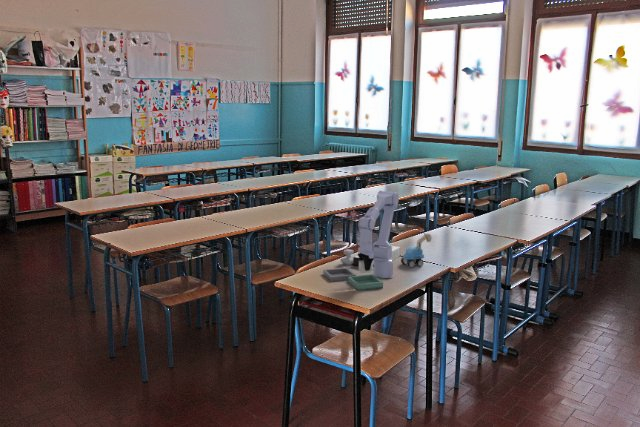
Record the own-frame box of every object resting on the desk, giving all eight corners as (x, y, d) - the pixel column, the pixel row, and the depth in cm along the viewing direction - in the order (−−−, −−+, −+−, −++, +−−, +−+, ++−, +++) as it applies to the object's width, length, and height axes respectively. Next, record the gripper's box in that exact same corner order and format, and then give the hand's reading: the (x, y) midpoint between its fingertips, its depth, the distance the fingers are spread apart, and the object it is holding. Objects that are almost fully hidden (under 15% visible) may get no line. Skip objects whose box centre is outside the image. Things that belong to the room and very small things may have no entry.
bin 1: (346, 273, 292) (346, 267, 292) (355, 280, 280) (356, 274, 279) (323, 275, 288) (323, 269, 288) (331, 283, 276) (331, 277, 275)
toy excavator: (433, 265, 307) (435, 234, 304) (407, 268, 301) (408, 237, 298) (425, 261, 315) (426, 231, 312) (399, 264, 309) (400, 234, 306)
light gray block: (368, 269, 274) (368, 259, 273) (371, 272, 270) (371, 262, 269) (358, 270, 272) (358, 260, 271) (361, 273, 268) (361, 263, 267)
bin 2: (372, 280, 281) (372, 274, 280) (382, 288, 268) (383, 282, 268) (348, 282, 277) (348, 276, 276) (357, 290, 264) (357, 284, 264)
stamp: (358, 265, 307) (358, 250, 306) (351, 267, 302) (351, 252, 301) (345, 262, 313) (345, 247, 311) (338, 264, 308) (338, 249, 306)
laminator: (383, 254, 331) (383, 244, 329) (401, 257, 324) (402, 247, 323) (353, 268, 303) (353, 256, 302) (373, 271, 296) (373, 260, 295)
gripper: (352, 239, 274) (352, 265, 276) (364, 246, 260) (363, 274, 263) (366, 238, 276) (365, 264, 279) (378, 244, 262) (377, 272, 265)
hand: (365, 269), depth 271 cm, fingers closed on light gray block, 4 cm apart
